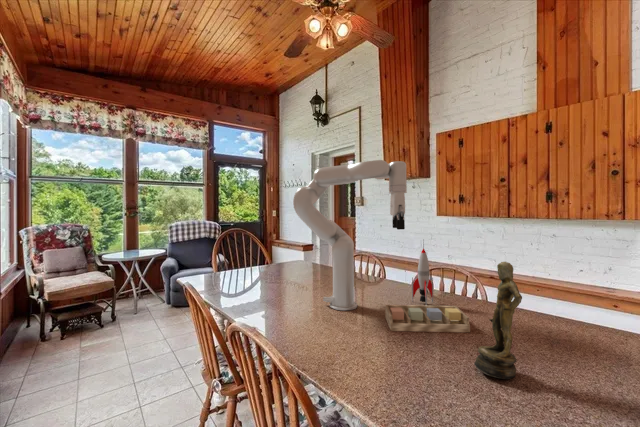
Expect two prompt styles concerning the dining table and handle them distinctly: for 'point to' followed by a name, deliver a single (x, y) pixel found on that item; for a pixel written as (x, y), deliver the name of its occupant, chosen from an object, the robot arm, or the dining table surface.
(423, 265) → the toy
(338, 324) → the dining table surface
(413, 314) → the key sage
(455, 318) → the key mustard
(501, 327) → the statue
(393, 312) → the key terracotta
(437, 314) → the key slate
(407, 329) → the tray
